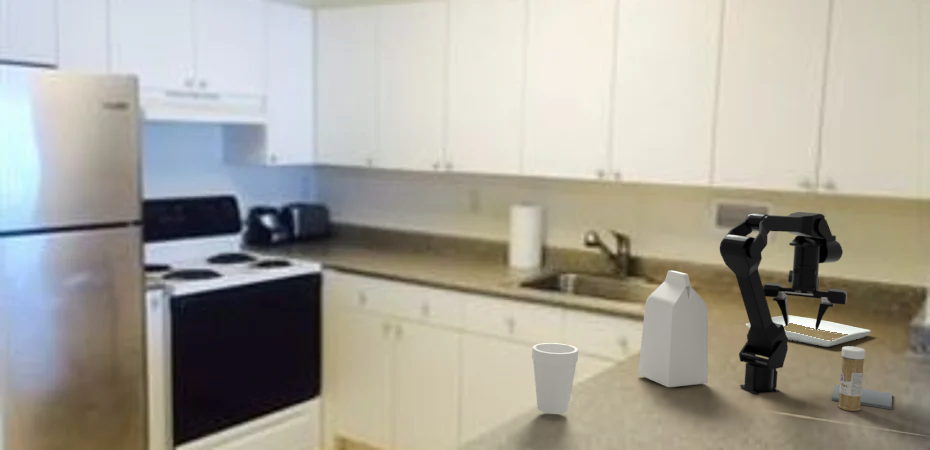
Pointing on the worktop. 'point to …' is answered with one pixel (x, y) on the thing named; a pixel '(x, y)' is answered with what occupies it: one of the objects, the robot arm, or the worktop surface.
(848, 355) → the sprinkles bottle
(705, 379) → the milk
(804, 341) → the square plate
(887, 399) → the rest mat
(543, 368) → the foam cup
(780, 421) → the worktop surface
